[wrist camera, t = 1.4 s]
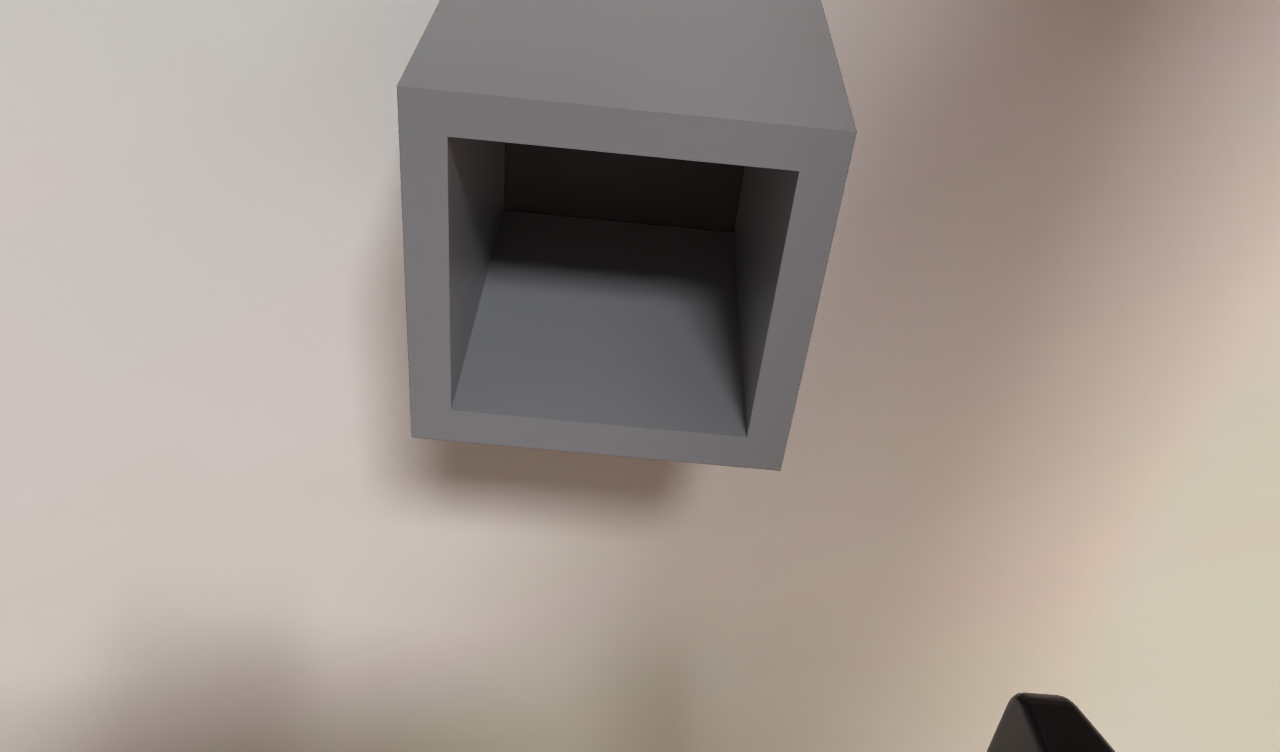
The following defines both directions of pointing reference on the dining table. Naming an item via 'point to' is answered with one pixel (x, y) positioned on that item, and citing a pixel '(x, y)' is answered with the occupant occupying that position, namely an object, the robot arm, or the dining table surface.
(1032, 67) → the dining table surface
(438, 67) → the duct collar
